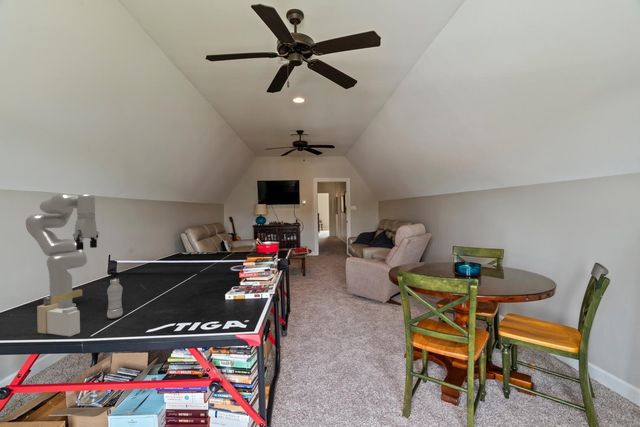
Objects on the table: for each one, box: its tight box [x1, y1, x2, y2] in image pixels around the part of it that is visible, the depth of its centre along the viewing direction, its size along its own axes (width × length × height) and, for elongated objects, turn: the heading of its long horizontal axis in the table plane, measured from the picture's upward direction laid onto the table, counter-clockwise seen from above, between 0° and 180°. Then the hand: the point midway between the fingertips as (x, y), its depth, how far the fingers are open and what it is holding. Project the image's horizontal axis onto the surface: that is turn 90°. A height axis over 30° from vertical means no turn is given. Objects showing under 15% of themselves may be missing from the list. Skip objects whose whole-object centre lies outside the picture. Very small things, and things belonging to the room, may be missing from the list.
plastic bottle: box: [106, 277, 124, 320], centre depth 144 cm, size 6×7×20 cm
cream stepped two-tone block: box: [36, 303, 81, 337], centre depth 127 cm, size 20×5×12 cm, turn 75°
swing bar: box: [43, 289, 84, 305], centre depth 135 cm, size 15×3×3 cm, turn 165°
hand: (86, 248), depth 151 cm, fingers open, 9 cm apart
